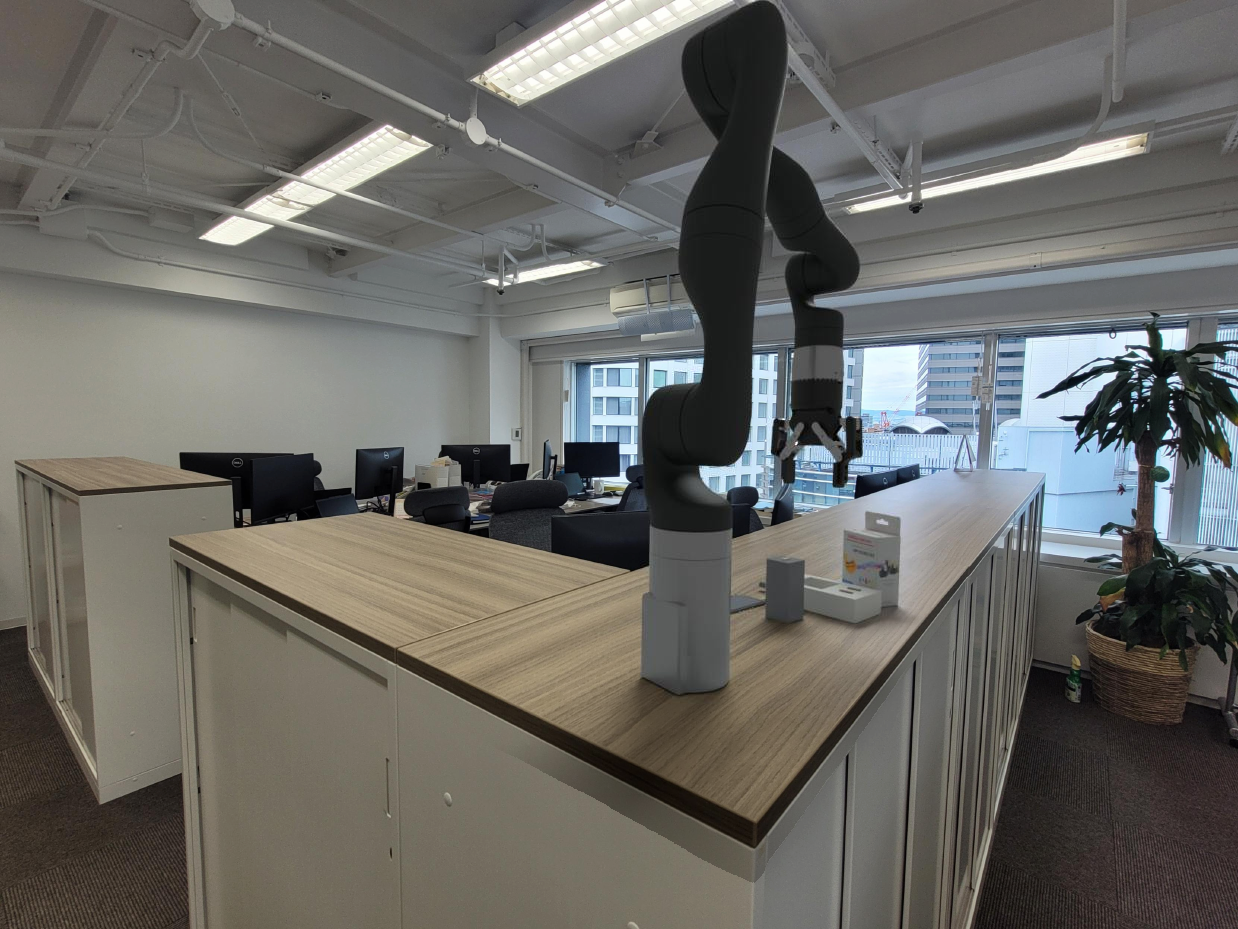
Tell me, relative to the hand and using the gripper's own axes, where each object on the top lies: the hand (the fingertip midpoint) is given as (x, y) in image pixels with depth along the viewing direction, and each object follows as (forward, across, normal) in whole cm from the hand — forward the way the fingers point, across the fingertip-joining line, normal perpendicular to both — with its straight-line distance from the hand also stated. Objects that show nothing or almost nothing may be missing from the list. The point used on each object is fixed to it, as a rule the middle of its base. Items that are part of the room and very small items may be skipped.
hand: (812, 485), depth 86 cm
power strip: (+20, -4, +6) cm, 21 cm away
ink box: (+20, +1, +16) cm, 26 cm away
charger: (+20, -2, -4) cm, 21 cm away
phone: (+21, -11, -6) cm, 24 cm away
